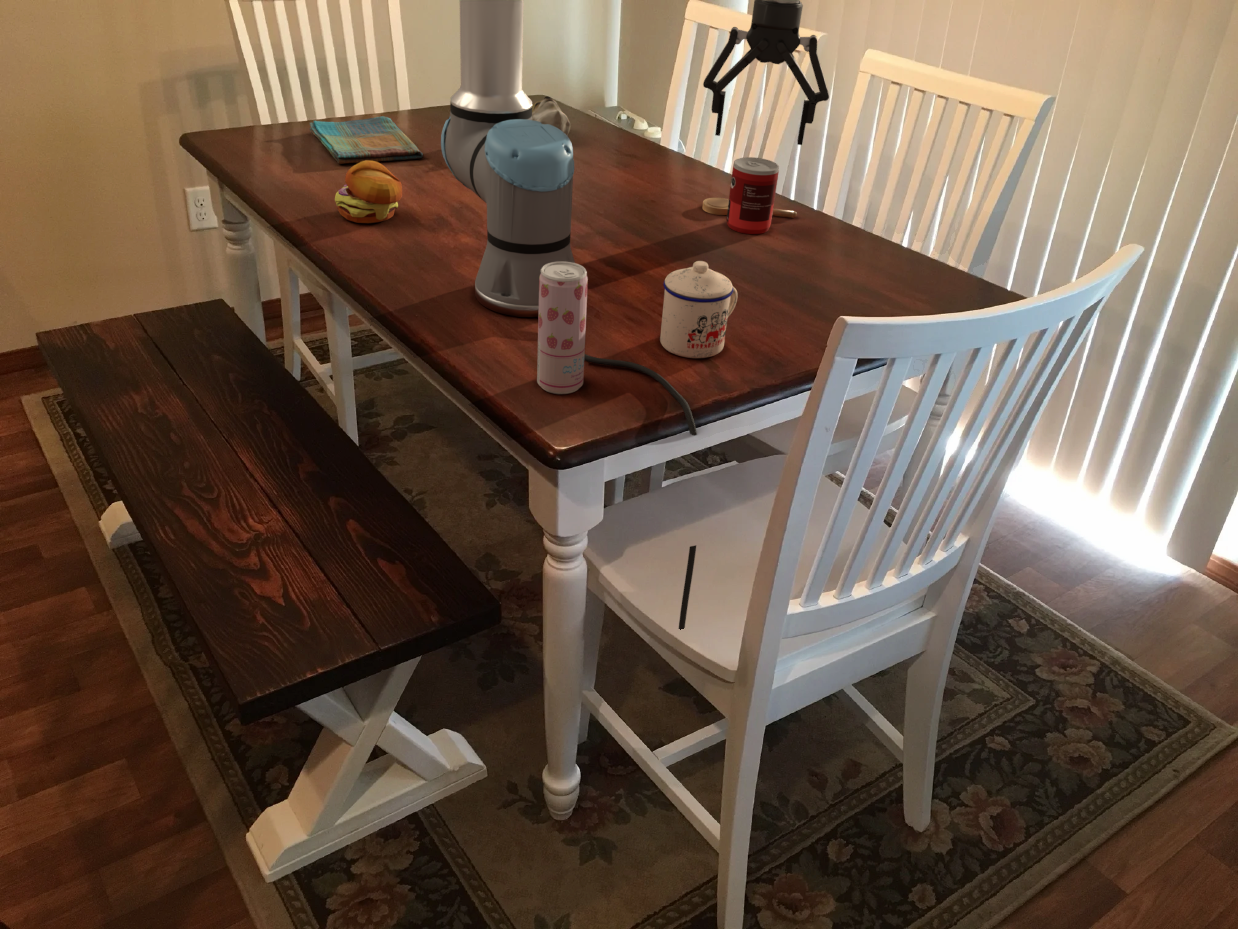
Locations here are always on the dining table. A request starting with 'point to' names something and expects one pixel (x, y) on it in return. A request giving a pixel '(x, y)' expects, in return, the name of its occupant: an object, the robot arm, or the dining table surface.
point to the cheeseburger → (368, 193)
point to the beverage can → (561, 327)
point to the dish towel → (365, 140)
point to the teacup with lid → (696, 311)
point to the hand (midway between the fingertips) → (758, 138)
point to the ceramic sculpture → (550, 114)
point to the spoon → (721, 207)
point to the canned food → (752, 195)
